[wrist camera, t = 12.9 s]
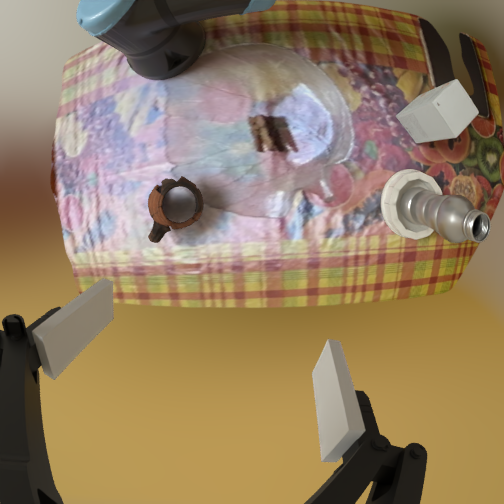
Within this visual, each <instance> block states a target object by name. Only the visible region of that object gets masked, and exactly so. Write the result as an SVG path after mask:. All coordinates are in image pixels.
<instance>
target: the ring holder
mask: <svg viewBox="0 0 504 504" xmlns="http://www.w3.org/2000/svg"><path fill="white" fill-rule="evenodd" d="M413 187H422V188H425V189H427V190H429V191H430V192H432V193H435V194H439V195H442V191H441V189H440V187H439V186H438V184H437V183H436V182H435V180H434V179H433V177H430V176H428V175H426V174H424V173H422V172H420V171H418V170H413V169H405V170H401V171H398V172H396V173H395V174H393V175H392V176H391V177H390V178H389V179H388V181H387V182H386V184H385V186H384V188H383V191H382V194H381V201H380V205H381V212H382V216H383V219H384V221H385V223H386V224H387V226H388V227H389V228H390V229H391V230H392V231H393V232H394V233H396V234H398V235H399V236H402V237H405V238H412V239H415V240H417V239H420V238H423V237H426V236H429V235H430V234H431V233H432V232H433V231H434V230H433V229H431V228H430V227H427V226H423V225H415V224H412V223H410V222H408V221H407V220H406V219H405V218H404V216H403V215H402V213H401V210H400V201H401V198H402V195H403V194H404V193H405V192H406V191H407V190H408V189H410V188H413Z"/></svg>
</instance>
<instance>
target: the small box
mask: <svg viewBox="0 0 504 504" xmlns="http://www.w3.org/2000/svg"><path fill="white" fill-rule="evenodd" d="M478 114H479V112H478V110H477V108H476V107H475V105H474V103H473V102H472V100H471V99H470V97H469V96H468V94H467V93H466V91H465V90H464V88H463V87H462V85H461V84H460V82H459V81H458V80H457V79H456V80H453V81H451V82H448V83H446V84H444V85H441V86H439V87H437V88H435V89H432V90H430V91H428V92H426V93H423V94H421V95H419V96H418V97H417V98H416V99H414V100H413V101H412V102H411V103H410V104H409V105H408V106H406V107H405V108H404V109H403V110H402V111H401V112H400V113H399V114H398V115H396V117H397V119H398V120H399V121H400V122H401V124H402V125H403V126H404V128H405V129H406V130H407V132H408V133H409V134H410V136H411V137H412V138H413V140H414V141H415V142H416V143H424V142H430V141H437V140H444V139H452V138H457V137H458V136H459V135H460V134H461V133H462V131H463V130H464V129H465V128H466V127H467V126H468V125H469V124H470V123H471V122H472V120H473V119H474V118H475V117H476V116H477V115H478Z"/></svg>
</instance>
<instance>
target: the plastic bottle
mask: <svg viewBox="0 0 504 504" xmlns="http://www.w3.org/2000/svg"><path fill="white" fill-rule="evenodd" d="M400 210H401V213H402V215H403V216H404V218H405V219H406V220H407V221H408V222H410V223H412V224H415V225H423V226H427V227H430V228H431V229H433V230H435V231H436V232H437V233H438V234H440V235H441V236H442V237H443V238H444V239H446V240H448V241H449V242H452V243H460V242H464V241H465V240H467V239H468V240H471V241H475V242H479V243H480V242H483V241H484V240H485V239H486V238H487V237H488V235H489V232H490V228H491V222H490V218H489V216H488V215H487V214H486V213H484V212H481V211H479V210H477V209H475V208H474V206H473V204H472V203H471V202H470V201H469V200H468V199H467V198H465V197H464V196H461V195H439V194H435V193H432V192H430V191H429V190H427V189H425V188H422V187H413V188H410V189H408V190H407V191H406V192H405V193H404V194H403V195H402V198H401V201H400Z"/></svg>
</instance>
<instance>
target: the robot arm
mask: <svg viewBox="0 0 504 504" xmlns="http://www.w3.org/2000/svg"><path fill="white" fill-rule="evenodd" d="M275 1H276V0H81V1H80V3H79V5H78V8H77V22H78V24H79V25H80V26H81V27H82V28H84V29H85V30H86V31H88V32H89V34H90V35H92V36H94V37H97V38H98V39H100V40H102V41H103V42H105V43H107V44H109V45H111V46H112V47H114V48H116V49H117V50H119V51H121V52H122V53H124V55H125V56H126V57H127V61H128V63H129V65H130V67H131V68H132V69H133V71H135V72H136V73H137V74H139V75H141V76H142V77H144V78H147V79H151V80H162V79H167V78H170V77H173V76H176V75H178V74H180V73H181V72H183V71H185V70H186V69H187V68H189V67H190V66H191V65H192V64H193V63H194V62H195V61H196V60H197V59H198V57H199V56H200V54H201V52H202V50H203V48H204V45H205V31H204V29H203V27H202V25H201V24H200V22H199V21H201V20H206V19H211V18H216V17H222V16H228V15H235V14H239V15H244V14H246V13H250V12H257V11H264V10H267V9H269V8H270V7H272V6H273V4H274V3H275ZM113 319H114V317H113V281H110V280H107V279H104V278H103V279H101V280H100V281H99V282H97V283H96V284H94V285H93V286H91V287H90V288H89V289H87V290H86V291H84V292H83V293H82V294H80V295H79V296H77V297H76V298H75V299H73V300H72V301H71V302H69V303H68V304H67V305H65V306H64V307H62V308H61V307H57V308H54V309H51V310H50V311H48V312H47V313H46V314H45V315H43V316H42V317H41V318H39V319H38V320H36V321H35V322H34V323H32V324H31V325H30V326H28V327H27V328H26V327H25V323H24V319H23V318H22V316H20V315H16V314H13V315H9V316H6V317H5V318H4V319H3V321H2V325H3V328H4V331H2V330H0V504H63V501H62V499H61V497H60V495H59V493H58V491H57V489H56V487H55V484H54V480H53V477H52V472H51V469H50V464H49V459H48V455H47V449H46V443H45V437H44V430H43V423H42V414H41V402H40V385H39V371H38V368H39V367H40V366H41V365H42V368H43V371H44V373H45V374H46V375H48V376H49V377H51V378H52V379H54V380H55V379H56V378H57V377H58V376H59V375H60V374H61V373H62V372H63V370H64V369H65V368H66V367H67V366H68V365H69V364H70V363H71V362H72V361H73V360H74V359H75V357H76V356H78V354H79V353H80V352H81V351H82V350H83V349H84V348H85V347H86V346H87V345H88V344H89V343H90V342H91V341H92V340H93V339H94V338H95V337H96V335H98V334H99V333H100V332H101V331H102V330H103V329H104V328H105V327H106V326H107V325H108V324H109V323H110V322H111V321H112V320H113ZM312 376H313V385H314V393H315V401H316V410H317V419H318V429H319V440H320V451H321V461H322V462H337V461H338V460H339V459H340V458H341V457H342V458H343V464H342V465H341V466H339V467H338V468H337V469H336V470H335V471H334V473H333V475H332V476H331V477H330V478H329V479H328V480H327V481H326V482H325V483H324V484H323V485H322V486H321V488H320V489H319V490H318V491H317V492H316V493H315V494H314V495H313V496H312V497H311V498H309V499H308V500H307V501H306V502H305V503H304V504H355V503H356V501H357V500H358V499H359V497H360V496H361V495H362V493H363V492H364V490H365V489H366V488H367V486H368V485H369V484H370V482H371V481H373V485H372V488H371V491H370V493H369V496H368V499H367V501H366V504H420V500H421V495H422V489H423V484H424V478H425V471H426V463H427V451H426V450H425V448H424V447H423V446H422V445H420V444H418V443H411V444H409V445H408V446H406V447H405V448H400V447H396V446H393V445H391V444H390V442H389V440H388V439H387V438H386V437H384V436H382V435H380V433H379V430H378V426H377V423H376V420H375V416H374V413H373V410H372V407H371V404H370V400H369V398H368V396H367V395H366V394H365V393H364V391H356V390H354V386H353V382H352V379H351V376H350V372H349V369H348V365H347V362H346V359H345V355H344V352H343V349H342V346H341V343H340V341H337V340H331V339H328V340H327V342H326V345H325V347H324V349H323V351H322V354H321V356H320V358H319V360H318V362H317V364H316V366H315V368H314V370H313V372H312Z"/></svg>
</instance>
